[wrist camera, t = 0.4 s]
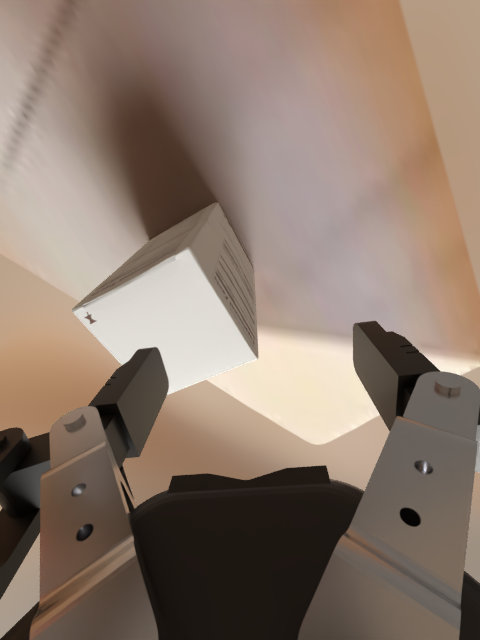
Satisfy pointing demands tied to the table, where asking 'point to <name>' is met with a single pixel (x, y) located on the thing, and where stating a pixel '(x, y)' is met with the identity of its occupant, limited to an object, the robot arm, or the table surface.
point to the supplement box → (181, 301)
